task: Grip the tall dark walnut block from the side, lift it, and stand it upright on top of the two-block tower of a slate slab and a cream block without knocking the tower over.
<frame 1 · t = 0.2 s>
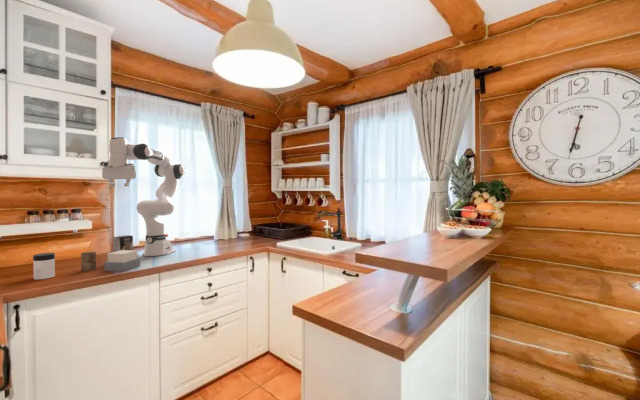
hand: (119, 186, 173), 48 cm above the counter, tool pointing down, fingers open, 8 cm apart
jar: (44, 277, 147), on the counter
tower base: (122, 268, 166), on the counter, touching tower top
walnut block: (88, 269, 162), on the counter
coffee box: (123, 261, 183), on the counter
tower top: (122, 260, 166), point 5 cm above the counter, touching tower base
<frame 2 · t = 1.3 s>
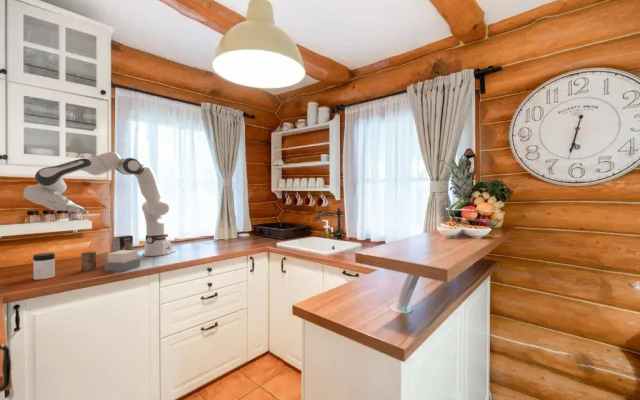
hand: (83, 212, 162), 33 cm above the counter, tool tilted 65°, fingers open, 8 cm apart
nothing on the counter moved.
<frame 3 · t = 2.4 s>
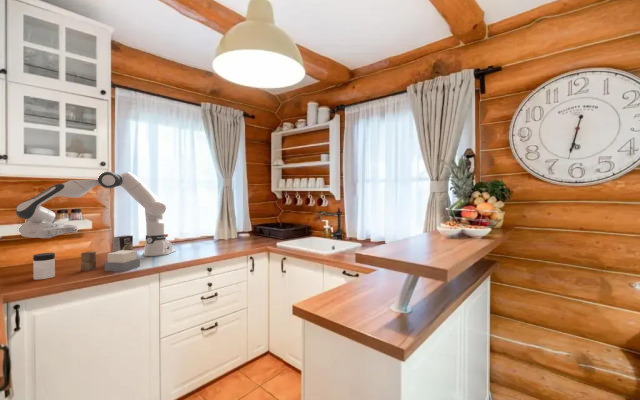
hand: (68, 230, 163), 22 cm above the counter, tool horizontal, fingers open, 8 cm apart
tower base: (122, 269, 165), on the counter
tower top: (122, 260, 165), point 5 cm above the counter
everything else where it was.
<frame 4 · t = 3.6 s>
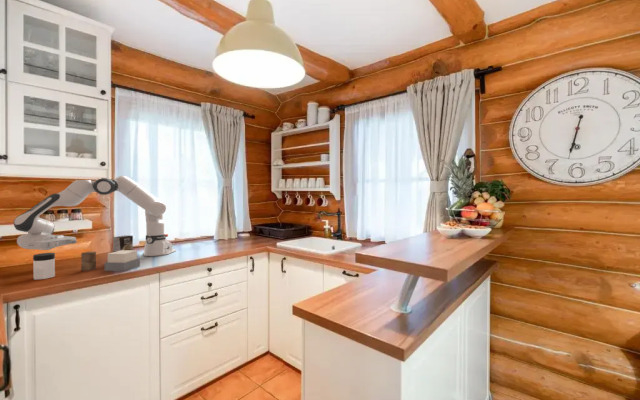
hand: (67, 243, 163), 15 cm above the counter, tool horizontal, fingers open, 8 cm apart
tower base: (122, 269, 165), on the counter, touching tower top
tower top: (122, 260, 165), point 5 cm above the counter, touching tower base
everything else where it was.
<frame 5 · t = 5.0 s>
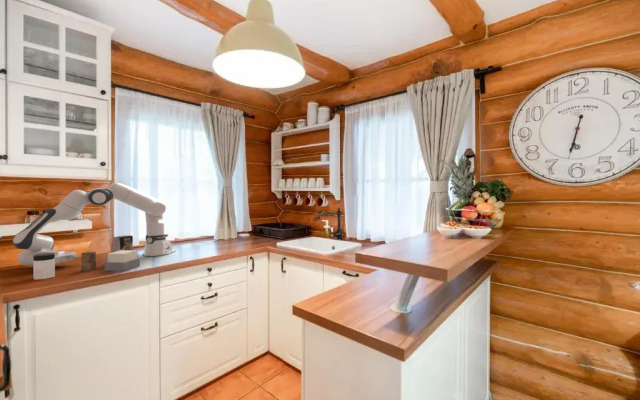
hand: (68, 259, 163), 6 cm above the counter, tool horizontal, fingers open, 8 cm apart
tower base: (122, 269, 166), on the counter
tower top: (122, 260, 165), point 5 cm above the counter
everything else where it was.
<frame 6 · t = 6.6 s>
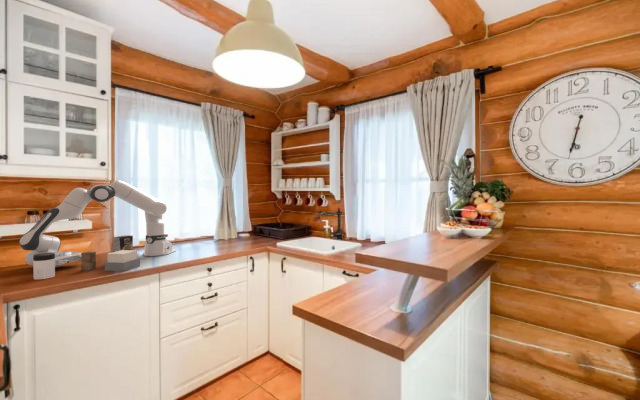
hand: (75, 259, 163), 5 cm above the counter, tool horizontal, fingers open, 8 cm apart
tower base: (122, 268, 166), on the counter, touching tower top
tower top: (122, 260, 165), point 5 cm above the counter, touching tower base
everything else where it was.
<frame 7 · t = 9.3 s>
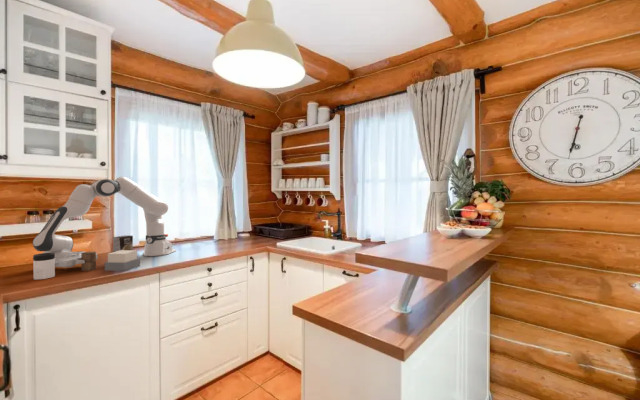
hand: (90, 260, 161), 6 cm above the counter, tool horizontal, fingers closed on walnut block, 4 cm apart
walnut block: (88, 269, 162), on the counter, touching gripper
everything else where it was.
when the fingers open (17 cm above the counter, at t = 15.1 s): walnut block drops 2 cm, resting on tower top.
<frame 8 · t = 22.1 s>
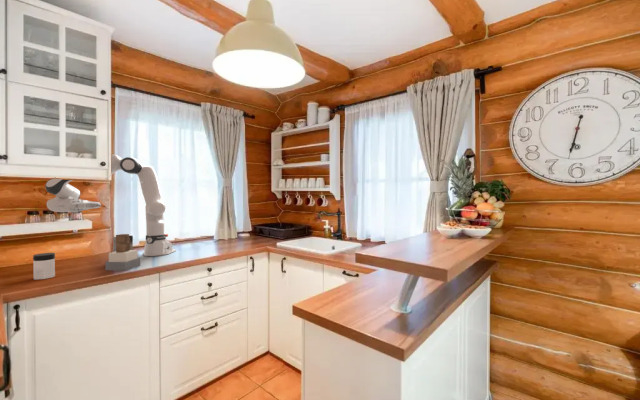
hand: (93, 205, 176), 36 cm above the counter, tool horizontal, fingers open, 8 cm apart
walnut block: (122, 251, 166), point 10 cm above the counter, touching tower top
tower top: (123, 259, 167), point 5 cm above the counter, touching tower base, walnut block
at the end: walnut block 0.6 cm off-centre on the tower top, point 5.0 cm above the tower top's base; walnut block tilted 1°; tower top 0.2 cm from the tower base (horizontally) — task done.
